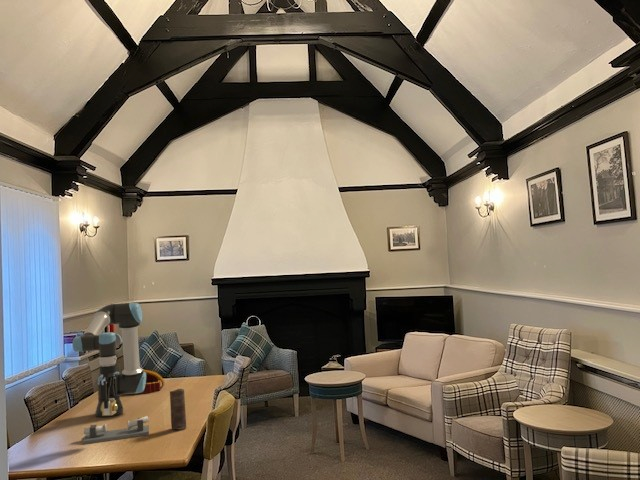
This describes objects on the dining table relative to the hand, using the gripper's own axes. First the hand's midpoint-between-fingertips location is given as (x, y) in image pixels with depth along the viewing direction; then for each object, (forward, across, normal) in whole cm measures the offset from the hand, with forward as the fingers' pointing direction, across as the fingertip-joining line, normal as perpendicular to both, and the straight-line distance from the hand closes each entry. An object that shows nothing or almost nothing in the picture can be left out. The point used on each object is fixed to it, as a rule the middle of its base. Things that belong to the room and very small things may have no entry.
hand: (109, 413), depth 247 cm
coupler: (0, 0, 0) cm, 0 cm away
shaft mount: (+14, +8, 0) cm, 16 cm away
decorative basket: (+16, +109, +28) cm, 114 cm away
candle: (+14, +16, -28) cm, 36 cm away
